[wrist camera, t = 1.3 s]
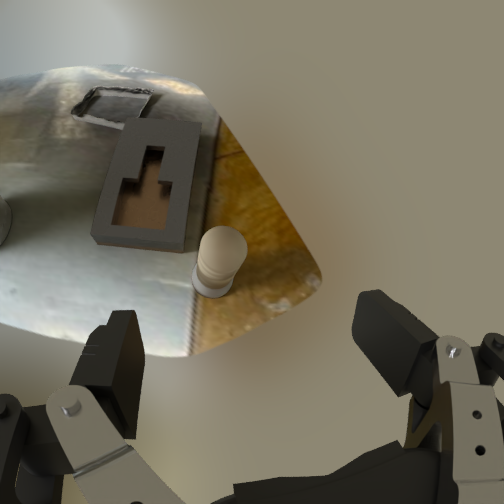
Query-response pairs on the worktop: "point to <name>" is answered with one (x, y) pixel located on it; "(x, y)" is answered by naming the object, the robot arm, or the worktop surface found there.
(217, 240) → the keyhole peg
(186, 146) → the keyhole board
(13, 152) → the worktop surface
